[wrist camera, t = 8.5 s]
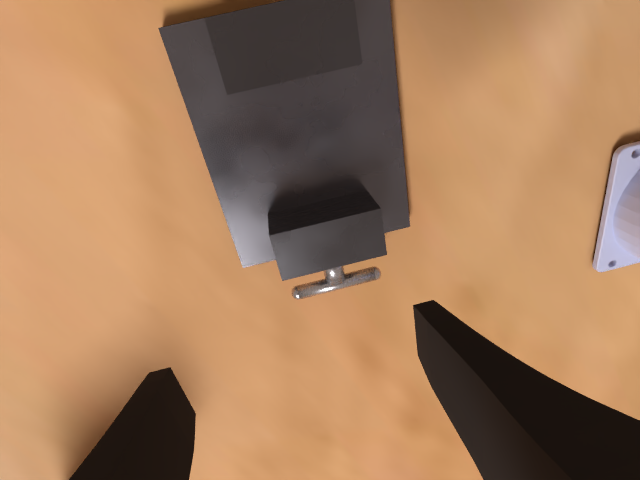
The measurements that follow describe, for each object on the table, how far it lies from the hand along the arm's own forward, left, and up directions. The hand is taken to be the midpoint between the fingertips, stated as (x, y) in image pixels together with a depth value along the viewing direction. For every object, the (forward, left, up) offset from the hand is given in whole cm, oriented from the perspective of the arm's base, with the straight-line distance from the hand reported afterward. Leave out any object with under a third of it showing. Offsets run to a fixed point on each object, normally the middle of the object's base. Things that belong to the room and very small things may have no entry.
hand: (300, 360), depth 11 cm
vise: (-2, -4, -9) cm, 10 cm away
